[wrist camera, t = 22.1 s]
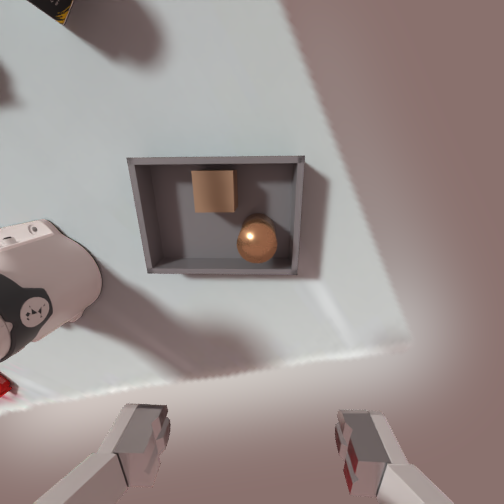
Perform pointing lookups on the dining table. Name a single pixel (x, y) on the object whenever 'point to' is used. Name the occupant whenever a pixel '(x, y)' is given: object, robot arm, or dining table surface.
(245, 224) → the copper tin
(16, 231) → the robot arm
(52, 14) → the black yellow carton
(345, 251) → the dining table surface
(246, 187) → the box
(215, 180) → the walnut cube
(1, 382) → the candy bar
